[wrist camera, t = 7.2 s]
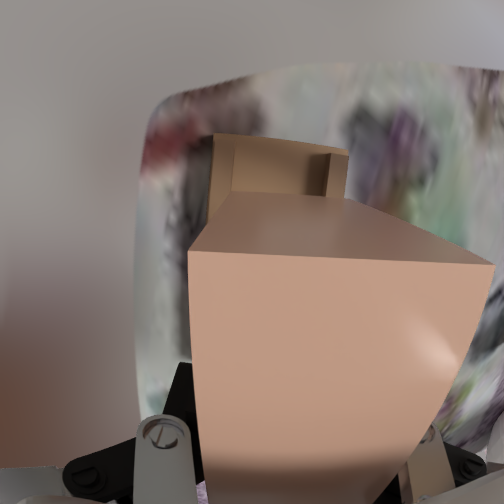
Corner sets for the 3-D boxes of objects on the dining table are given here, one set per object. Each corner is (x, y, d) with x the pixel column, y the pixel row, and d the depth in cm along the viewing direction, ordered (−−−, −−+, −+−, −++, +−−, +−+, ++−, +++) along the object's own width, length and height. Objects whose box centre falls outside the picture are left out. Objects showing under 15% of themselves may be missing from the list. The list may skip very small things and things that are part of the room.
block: (349, 198, 10) (496, 265, 3) (304, 437, 13) (322, 552, 6) (231, 190, 10) (187, 250, 3) (227, 436, 13) (218, 555, 6)
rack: (304, 367, 24) (308, 383, 22) (201, 359, 24) (197, 375, 22) (343, 150, 19) (354, 149, 17) (215, 134, 19) (211, 130, 17)
